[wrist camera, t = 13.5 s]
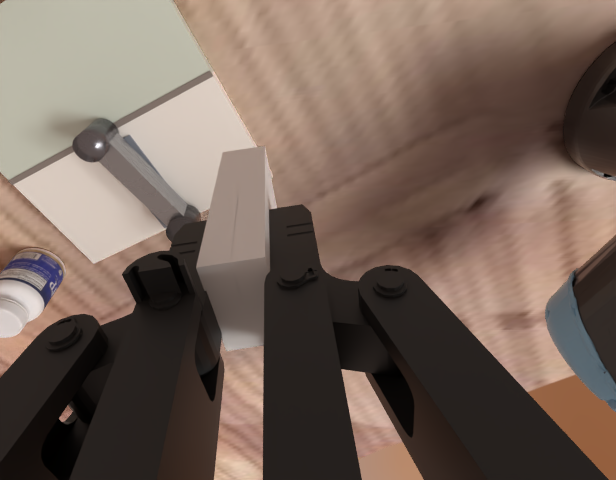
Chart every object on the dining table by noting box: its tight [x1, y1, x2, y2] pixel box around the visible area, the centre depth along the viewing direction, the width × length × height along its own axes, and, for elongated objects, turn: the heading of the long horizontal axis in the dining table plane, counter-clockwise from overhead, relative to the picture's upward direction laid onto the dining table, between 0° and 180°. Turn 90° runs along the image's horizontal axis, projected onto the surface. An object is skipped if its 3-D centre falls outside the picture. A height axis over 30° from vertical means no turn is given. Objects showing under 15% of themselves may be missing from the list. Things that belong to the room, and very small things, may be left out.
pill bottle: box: [0, 248, 66, 338], centre depth 41 cm, size 5×5×9 cm
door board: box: [0, 0, 273, 264], centre depth 36 cm, size 22×22×1 cm
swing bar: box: [72, 118, 201, 242], centre depth 37 cm, size 13×3×4 cm, turn 33°
